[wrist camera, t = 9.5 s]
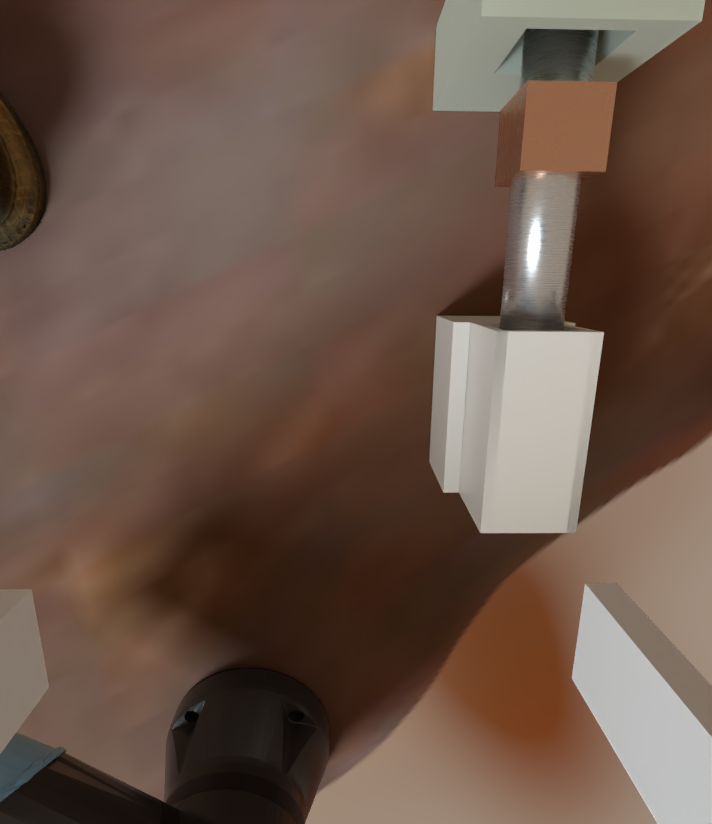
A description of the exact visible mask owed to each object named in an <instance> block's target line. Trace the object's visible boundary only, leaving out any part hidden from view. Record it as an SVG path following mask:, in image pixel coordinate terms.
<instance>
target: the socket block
mask: <svg viewBox="0 0 712 824" xmlns="http://www.w3.org/2000/svg"><path fill="white" fill-rule="evenodd" d="M704 5H705V0H446V1H445V4H444V7H443V9H442V12H441V15H440V18H439V21H438V23H437V26H436V47H435V70H434V92H433V111H483V112H500V110H501V109H502V108H503V107H504V106H505V105H506V104H507V103H508V102H509V100H510V99H511V98H512V97H513V96H514V95H515V94H516V93H517V92H518V91H519V88H520V76H521V64H522V53H523V41H524V31H525V30H526V29H527V28H529V29H578V30H599V33H598V42H597V50H596V59H595V67H594V75H593V82H618V81H620V80H621V79H623V78H624V77H625V76H627V75H628V74H629V73H631V72H632V71H634V70H635V69H636V68H638V67H639V66H640V65H642V64H643V63H645V62H646V61H647V60H649V59H650V58H651V57H653V56H654V55H656V54H657V53H658V52H660V51H661V50H662V49H664V48H665V47H667V46H668V45H669V44H671V43H672V42H673V41H675V40H676V39H678V38H679V37H680V36H682V35H683V34H684V33H686V32H687V31H689V30H690V29H691V28H693V27H694V26H695V25H697V24H698V23H700V22H701V21H702V17H703V11H704Z"/></svg>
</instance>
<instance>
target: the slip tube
mask: <svg viewBox="0 0 712 824" xmlns="http://www.w3.org/2000/svg"><path fill="white" fill-rule="evenodd" d="M598 33H599V30H578V29H529V28H527V29H526V30H525V31H524V41H523V53H522V64H521V76H520V88H519V91H518V92H517V93H516V94H515V95H514V96H513V97H512V98H511V99H510V100H509V102H508V103H507V104H506V105H505V106H504V107H503V108H502V109H501V110H500V119H499V133H498V146H497V159H496V172H495V185H494V187H511V195H510V207H509V219H508V231H507V243H506V255H505V267H504V279H503V290H502V302H501V314H500V326H499V329H502V330H529V331H563V330H564V321H565V313H566V304H567V296H568V287H569V279H570V270H571V262H572V253H573V245H574V236H575V228H576V219H577V211H578V202H579V194H580V186H581V182H582V181H585V180H587V179H589V178H592V177H594V176H597V175H599V174H601V173H604V172H606V166H607V158H608V150H609V143H610V135H611V127H612V119H613V112H614V104H615V96H616V88H617V82H593V75H594V67H595V59H596V50H597V42H598Z"/></svg>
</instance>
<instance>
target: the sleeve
mask: <svg viewBox="0 0 712 824" xmlns="http://www.w3.org/2000/svg"><path fill="white" fill-rule="evenodd" d="M499 326H500V316H437V319H436V339H435V358H434V378H433V398H432V417H431V437H430V457H429V462H430V465H431V467H432V469H433V471H434V473H435V475H436V478H437V480H438V482H439V484H440V486H441V488H442V491H443V493H459V494H460V496H461V498H462V500H463V502H464V503H465V505H466V507H467V509H468V511H469V513H470V515H471V517H472V518H473V520H474V522H475V524H476V526H477V528H478V530H479V532H480V533H576V530H577V523H578V516H579V508H580V501H581V494H582V487H583V480H584V473H585V465H586V458H587V451H588V444H589V437H590V430H591V423H592V415H593V408H594V401H595V394H596V387H597V380H598V372H599V365H600V358H601V351H602V344H603V337H604V332H601V331H596V330H591V329H586V328H581V327H576V326H575V323H573V322H567V321H564V330H563V331H529V330H502V329H499Z"/></svg>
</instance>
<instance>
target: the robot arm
mask: <svg viewBox="0 0 712 824" xmlns="http://www.w3.org/2000/svg"><path fill="white" fill-rule="evenodd" d="M572 679H573V681H574V683H575V685H576V686H577V688H578V690H579V691H580V693H581V695H582V697H583V698H584V700H585V702H586V703H587V705H588V707H589V708H590V710H591V712H592V714H593V715H594V717H595V719H596V720H597V722H598V724H599V725H600V727H601V729H602V731H603V732H604V734H605V736H606V737H607V739H608V741H609V742H610V744H611V746H612V747H613V749H614V751H615V753H616V754H617V756H618V757H619V759H620V761H621V763H622V764H623V766H624V768H625V769H626V771H627V773H628V775H629V776H630V778H631V780H632V781H633V783H634V785H635V786H636V788H637V790H638V791H639V793H640V795H641V796H642V798H643V800H644V802H645V803H646V805H647V807H648V809H649V810H650V812H651V814H652V815H653V817H654V819H655V820H656V822H657V824H712V686H711V685H710V683H709V682H708V681H707V680H706V679H705V678H704V677H703V676H702V675H701V674H700V673H699V672H698V670H697V669H696V668H695V667H694V666H693V665H692V664H691V663H690V662H689V661H688V660H687V659H686V658H685V656H684V655H683V654H682V653H681V652H680V651H679V650H678V649H677V648H676V647H675V646H674V645H673V644H672V642H671V641H669V639H668V638H667V637H666V636H665V635H664V634H663V633H662V632H661V631H660V630H659V628H658V627H657V626H656V625H655V624H654V623H653V622H652V621H651V620H650V619H649V618H648V617H647V616H646V614H644V613H643V611H642V610H641V609H640V608H639V607H638V606H637V605H636V604H635V603H634V602H633V601H632V600H631V598H630V597H629V596H628V595H627V594H626V593H625V592H624V591H623V590H622V589H621V588H620V587H619V585H618V584H617V583H585V588H584V595H583V602H582V609H581V616H580V623H579V631H578V638H577V645H576V652H575V659H574V667H573V673H572ZM48 688H49V685H48V679H47V673H46V668H45V662H44V657H43V651H42V645H41V640H40V634H39V629H38V623H37V617H36V612H35V606H34V601H33V595H32V589H22V590H0V824H305V822H306V819H307V816H308V814H309V811H310V809H311V806H312V804H313V801H314V798H315V796H316V793H317V790H318V788H319V785H320V783H321V780H322V777H323V775H324V772H325V769H326V766H327V762H328V756H329V737H330V729H329V722H328V718H327V715H326V712H325V710H324V708H323V706H322V705H321V703H320V702H319V700H318V699H317V698H316V696H315V695H314V694H313V693H312V692H311V691H310V690H309V689H307V688H306V687H305V686H304V685H302V684H301V683H299V682H297V681H296V680H294V679H292V678H290V677H288V676H285V675H283V674H280V673H277V672H273V671H269V670H263V669H235V670H229V671H225V672H222V673H218V674H216V675H213V676H211V677H209V678H207V679H205V680H203V681H202V682H200V683H199V684H197V685H196V686H195V687H193V688H192V689H191V690H190V691H189V692H188V693H187V694H186V696H185V697H184V698H183V700H182V701H181V703H180V705H179V706H178V709H177V711H176V714H175V716H174V719H173V721H172V724H171V727H170V729H169V733H168V737H167V743H166V764H165V791H164V802H163V801H161V800H159V799H157V798H155V797H153V796H151V795H148V794H146V793H144V792H142V791H140V790H138V789H136V788H134V787H132V786H130V785H128V784H126V783H124V782H122V781H120V780H118V779H116V778H114V777H112V776H110V775H108V774H106V773H104V772H102V771H100V770H98V769H96V768H94V767H92V766H90V765H88V764H86V763H84V762H82V761H80V760H78V759H76V758H74V757H72V756H70V755H68V754H66V753H65V752H66V751H67V750H66V749H65V748H63V747H58V748H53V747H51V746H48V745H46V744H43V743H41V742H39V741H36V740H34V739H32V738H29V737H27V736H24V735H22V734H20V733H16V732H17V730H18V729H19V728H20V726H21V725H22V724H23V722H24V721H25V720H26V718H27V717H28V715H29V714H30V713H31V711H32V710H33V709H34V707H35V706H36V704H37V703H38V702H39V700H40V699H41V698H42V696H43V695H44V693H45V692H46V691H47V689H48Z"/></svg>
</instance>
